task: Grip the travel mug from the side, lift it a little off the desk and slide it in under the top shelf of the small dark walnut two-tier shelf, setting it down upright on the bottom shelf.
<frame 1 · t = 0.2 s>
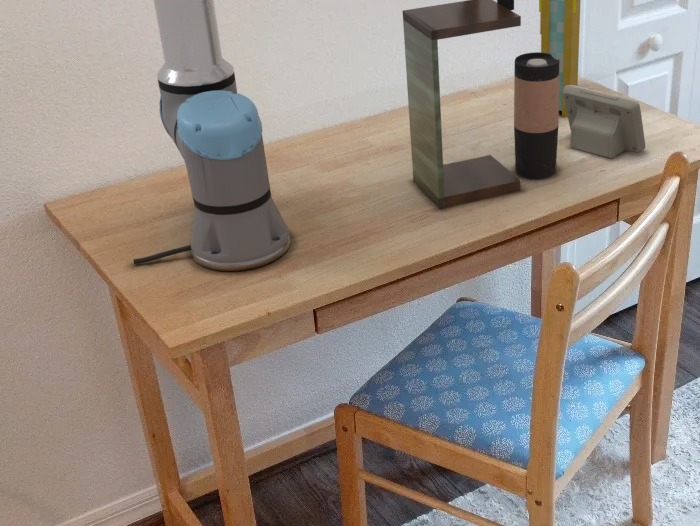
hand: (487, 1, 168), 28 cm above the table, tool pointing down, fingers open, 12 cm apart
travel mug: (535, 172, 178), on the table
book: (559, 101, 206), on the table
digital clock: (602, 147, 186), on the table
shelf: (466, 186, 174), on the table
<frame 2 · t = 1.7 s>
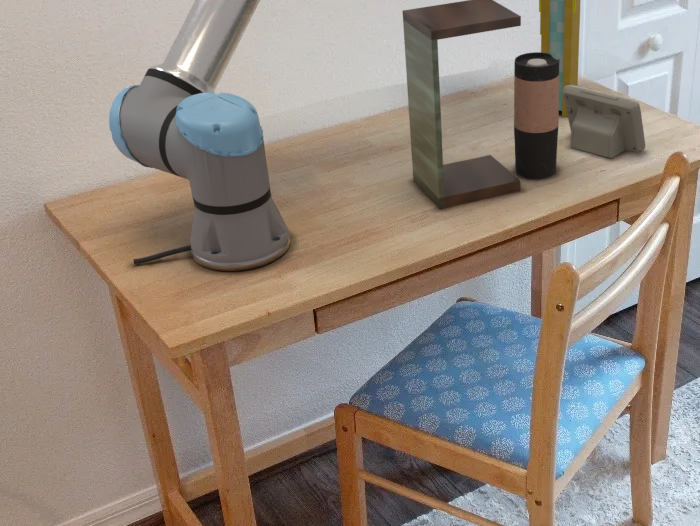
nothing on the table moved.
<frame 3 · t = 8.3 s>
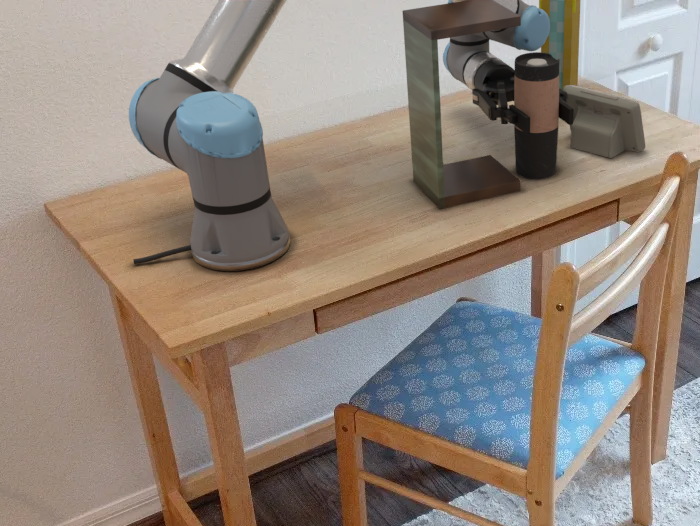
hand: (549, 121, 168), 11 cm above the table, tool horizontal, fingers closed on travel mug, 7 cm apart
travel mug: (535, 171, 178), on the table, touching gripper
everything else where it was.
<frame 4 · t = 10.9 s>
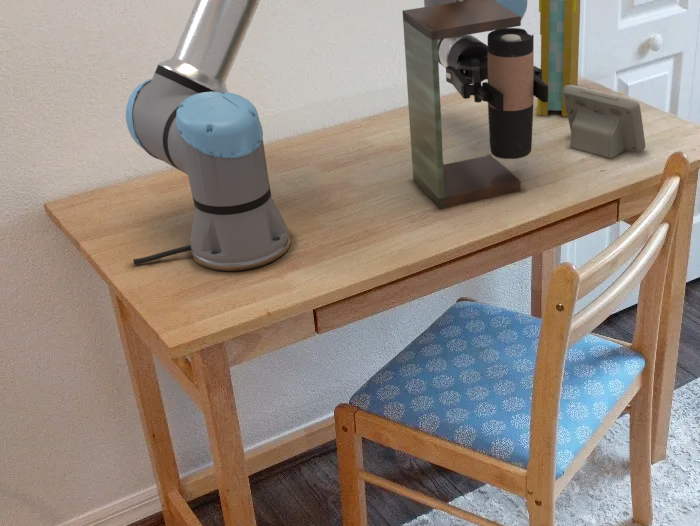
hand: (523, 98, 164), 16 cm above the table, tool horizontal, fingers closed on travel mug, 7 cm apart
travel mug: (510, 151, 174), point 5 cm above the table, touching gripper
everything else where it was.
when the fingers open (13 cm above the table, at t = 13.9 s): travel mug stays where it is, resting on shelf.
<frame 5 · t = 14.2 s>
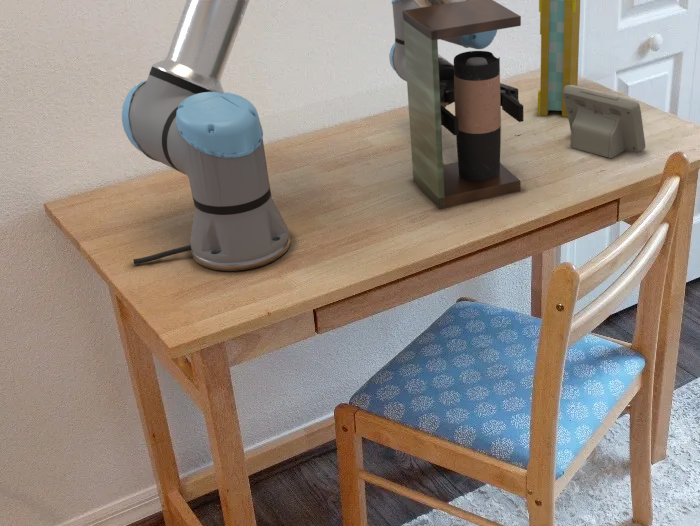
hand: (489, 120, 164), 13 cm above the table, tool horizontal, fingers open, 11 cm apart
travel mug: (479, 173, 174), point 2 cm above the table, touching shelf
everything else where it was.
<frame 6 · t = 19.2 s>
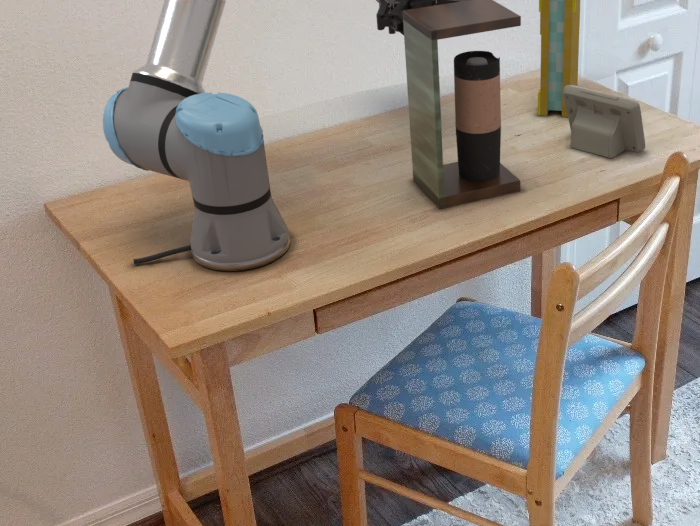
hand: (449, 26, 169), 24 cm above the table, tool horizontal, fingers open, 13 cm apart
nothing on the table moved.
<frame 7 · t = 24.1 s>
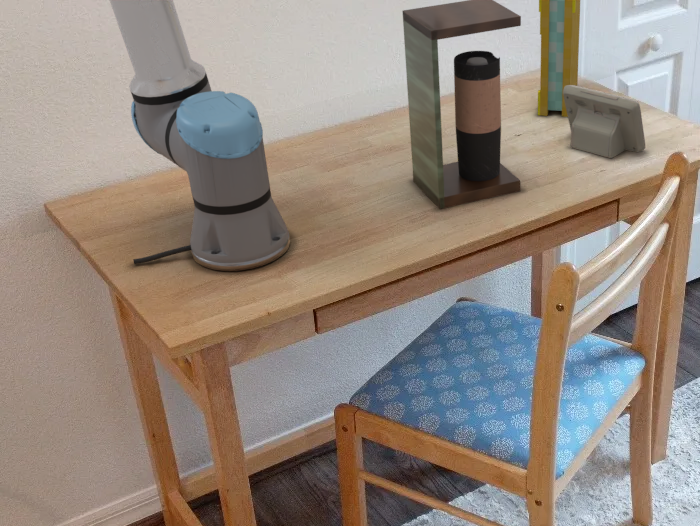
nothing on the table moved.
at the end: travel mug inside the target area on the shelf (1.5 cm from its centre), point 1.8 cm above the shelf's base; travel mug tilted 0°; the gripper is holding nothing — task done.
